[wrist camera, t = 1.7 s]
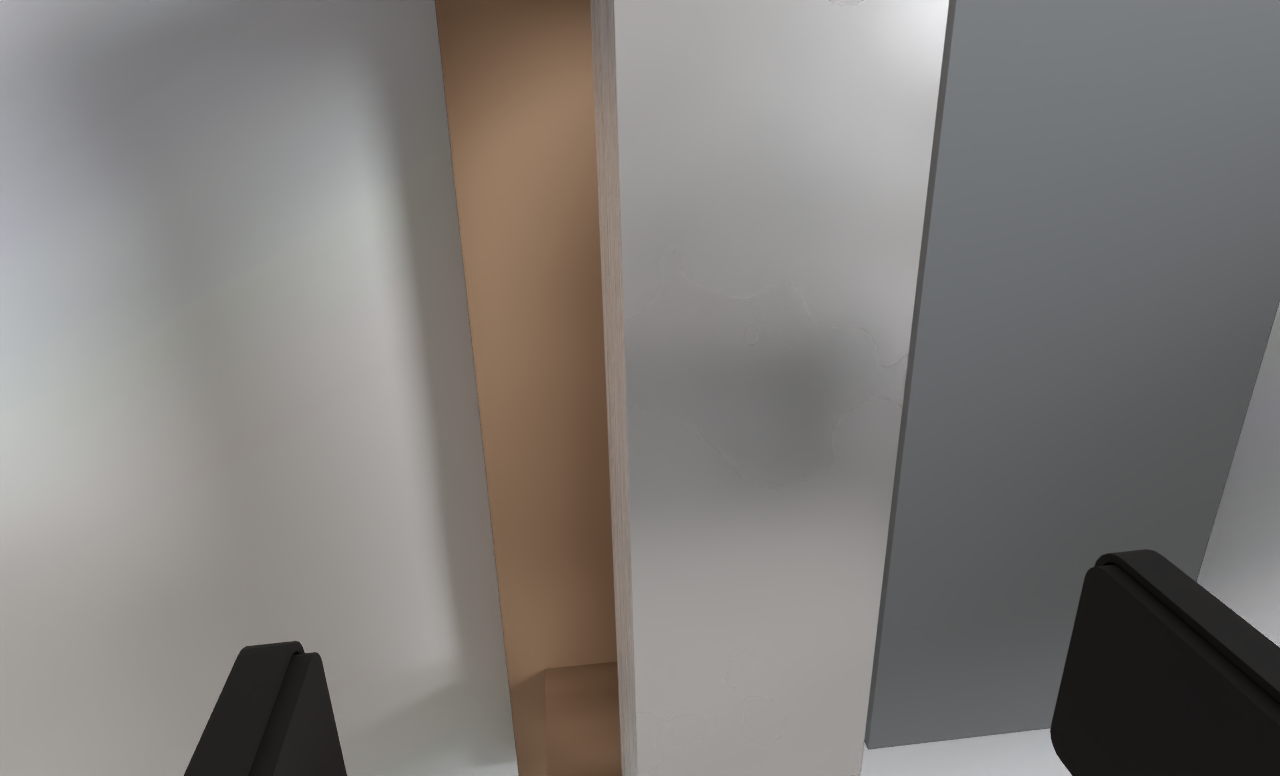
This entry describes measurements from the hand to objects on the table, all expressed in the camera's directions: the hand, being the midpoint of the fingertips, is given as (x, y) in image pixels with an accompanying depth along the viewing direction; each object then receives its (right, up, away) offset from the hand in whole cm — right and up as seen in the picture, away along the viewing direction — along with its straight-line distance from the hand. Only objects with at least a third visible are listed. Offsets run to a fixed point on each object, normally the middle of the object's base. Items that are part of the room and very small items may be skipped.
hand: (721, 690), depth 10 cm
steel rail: (0, +1, +3) cm, 3 cm away
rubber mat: (+11, +5, +12) cm, 17 cm away
